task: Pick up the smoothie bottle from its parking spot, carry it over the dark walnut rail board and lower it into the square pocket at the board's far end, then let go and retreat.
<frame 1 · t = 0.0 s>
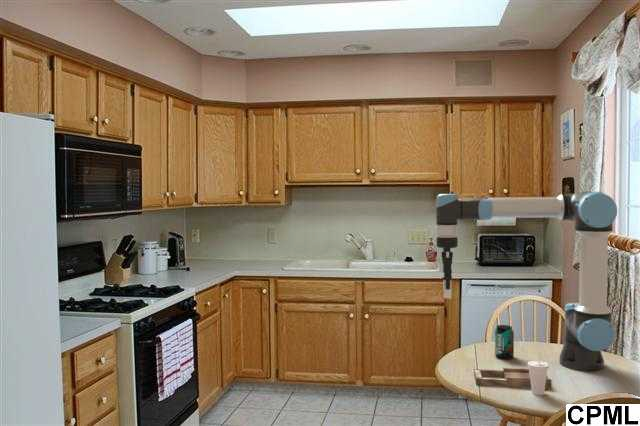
hand: (447, 294, 200), 28 cm above the table, fingers open, 13 cm apart
rail board: (511, 381, 189), on the table
beverage can: (504, 357, 215), on the table
smoothie: (537, 393, 178), on the table
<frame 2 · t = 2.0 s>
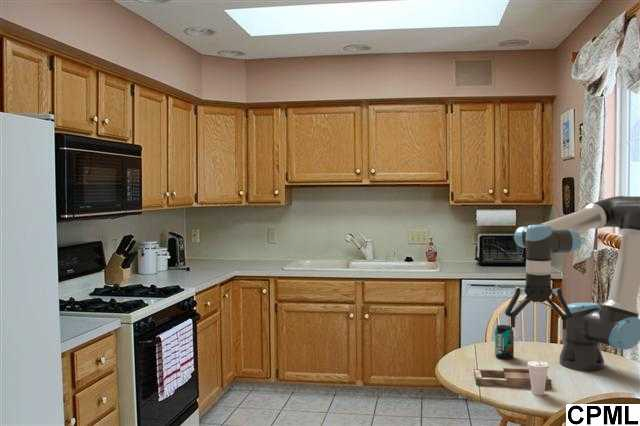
hand: (537, 338, 177), 18 cm above the table, fingers open, 13 cm apart
nothing on the table moved.
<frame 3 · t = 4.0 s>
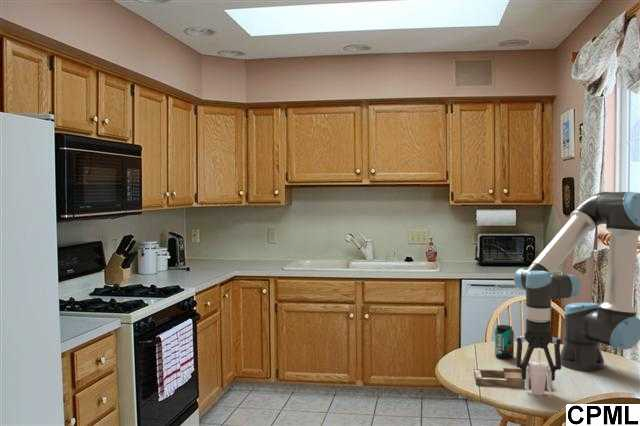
hand: (537, 389, 178), 1 cm above the table, fingers closed on smoothie, 6 cm apart
smoothie: (537, 393, 178), on the table, touching gripper
everything else where it was.
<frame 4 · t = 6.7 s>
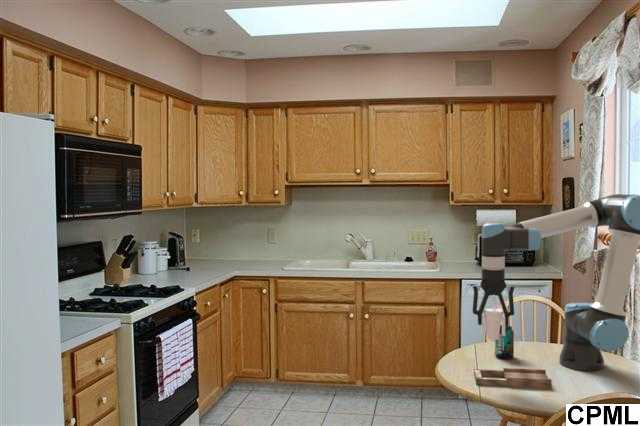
hand: (493, 334, 189), 16 cm above the table, fingers closed on smoothie, 6 cm apart
smoothie: (493, 338, 189), point 15 cm above the table, touching gripper
everything else where it was.
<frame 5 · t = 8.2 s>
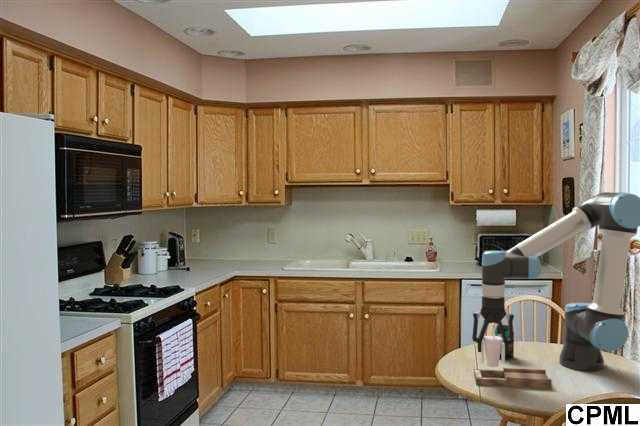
hand: (492, 361, 190), 7 cm above the table, fingers closed on smoothie, 6 cm apart
smoothie: (492, 365, 190), point 5 cm above the table, touching gripper
everything else where it was.
when the fingers open (3 cm above the table, at t = 9.4 s): smoothie drops 1 cm, resting in rail board.
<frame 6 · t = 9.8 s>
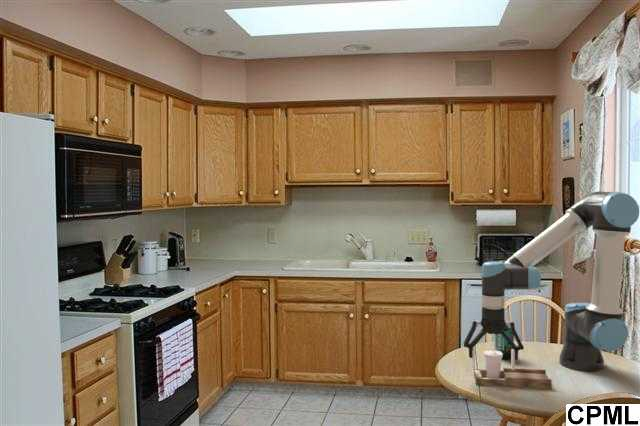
hand: (493, 368, 190), 4 cm above the table, fingers open, 12 cm apart
smoothie: (493, 380, 190), resting in rail board
everything else where it was.
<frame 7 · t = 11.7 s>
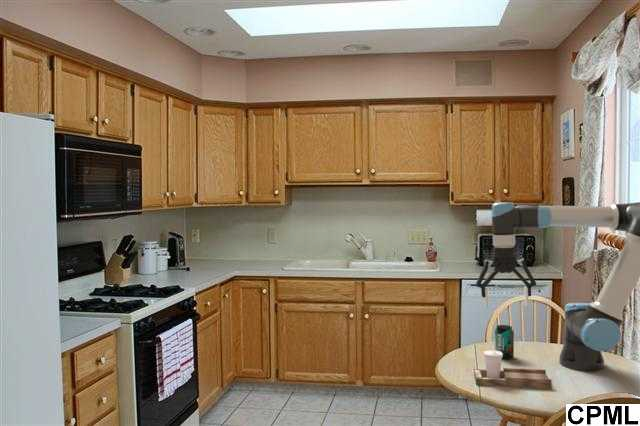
hand: (506, 306, 194), 25 cm above the table, fingers open, 13 cm apart
nothing on the table moved.
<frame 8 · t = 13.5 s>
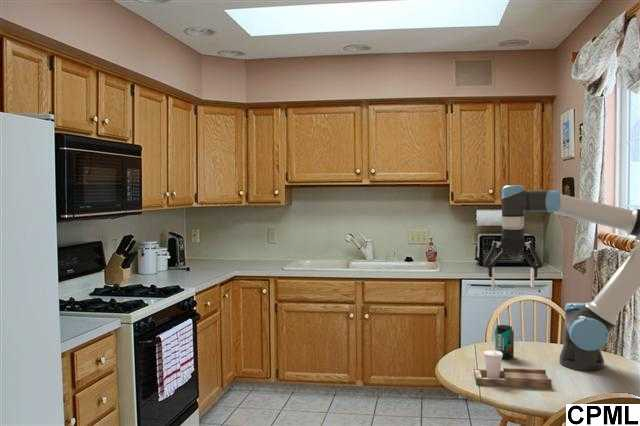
hand: (512, 286, 199), 31 cm above the table, fingers open, 13 cm apart
nothing on the table moved.
at the end: smoothie inside the target area (0.1 cm from its centre), resting in rail board; smoothie tilted 0°; the gripper is holding nothing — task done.
